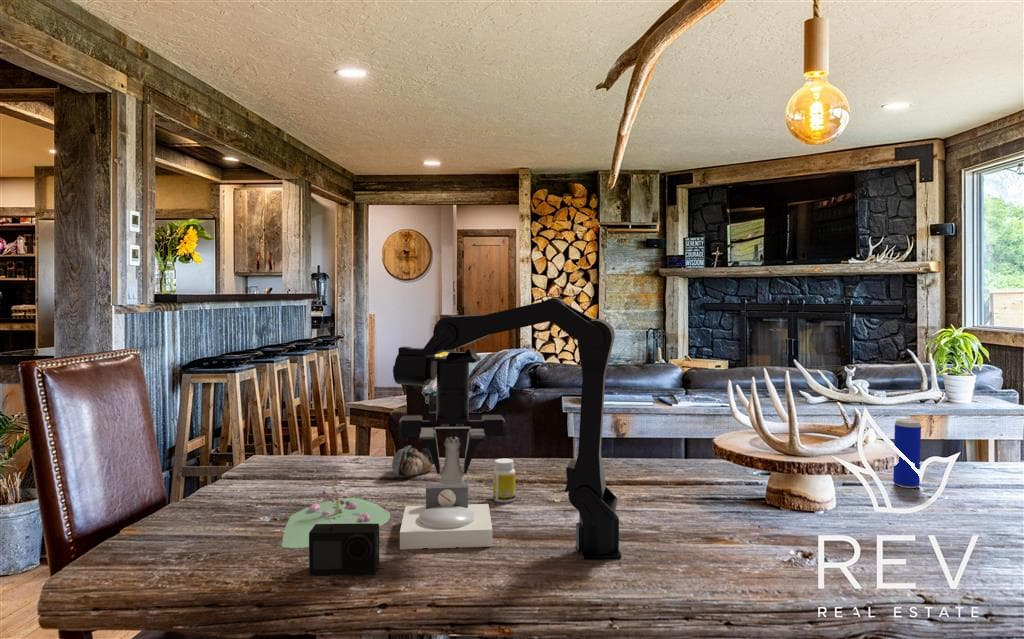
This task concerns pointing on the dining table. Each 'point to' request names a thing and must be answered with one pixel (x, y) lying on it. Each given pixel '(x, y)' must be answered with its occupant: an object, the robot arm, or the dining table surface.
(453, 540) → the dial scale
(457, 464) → the rook chess piece
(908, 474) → the beverage can
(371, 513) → the plant
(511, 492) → the supplement bottle
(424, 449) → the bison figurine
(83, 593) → the dining table surface
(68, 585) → the dining table surface
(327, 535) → the digital camera
